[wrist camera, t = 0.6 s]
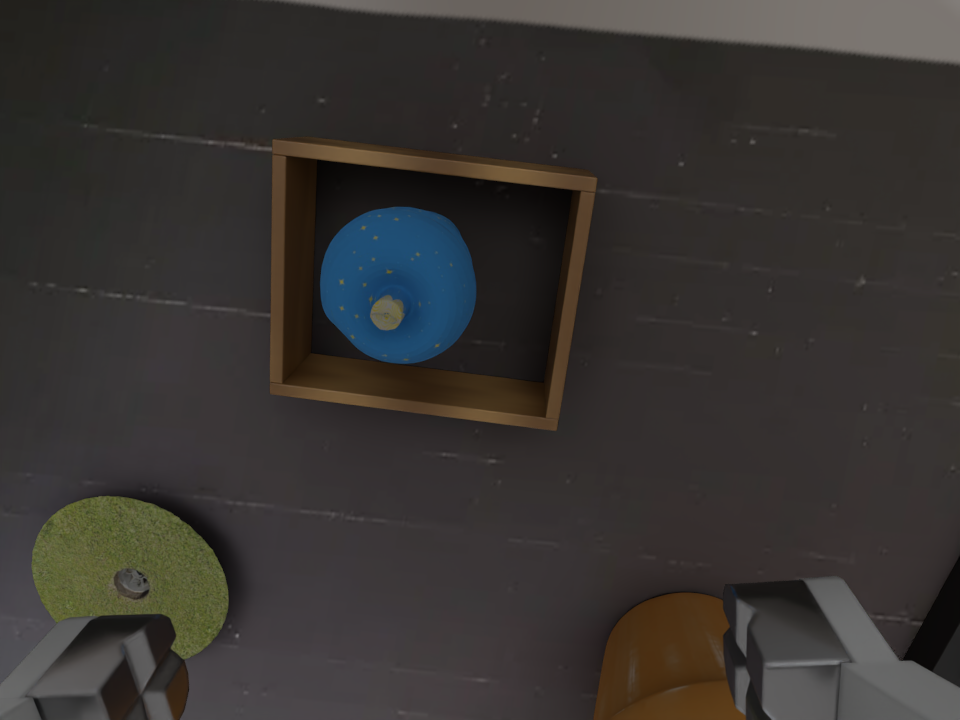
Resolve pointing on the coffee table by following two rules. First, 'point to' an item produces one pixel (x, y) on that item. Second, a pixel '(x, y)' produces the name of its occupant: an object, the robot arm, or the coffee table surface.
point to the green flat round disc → (130, 568)
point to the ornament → (399, 284)
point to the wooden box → (393, 382)
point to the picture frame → (941, 633)
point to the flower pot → (667, 662)
